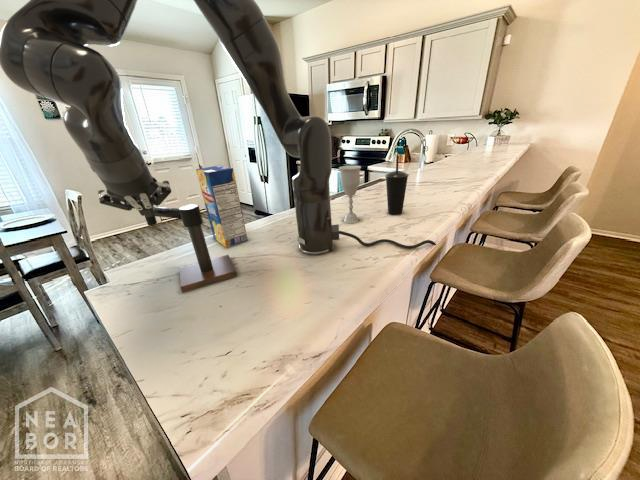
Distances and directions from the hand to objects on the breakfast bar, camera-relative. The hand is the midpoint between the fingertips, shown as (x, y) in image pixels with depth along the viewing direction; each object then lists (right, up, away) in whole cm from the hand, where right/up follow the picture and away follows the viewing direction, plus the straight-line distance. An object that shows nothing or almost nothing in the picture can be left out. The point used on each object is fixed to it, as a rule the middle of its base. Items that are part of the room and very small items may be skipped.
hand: (148, 213), depth 60 cm
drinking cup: (+66, +3, +34) cm, 75 cm away
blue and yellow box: (+11, -6, +23) cm, 26 cm away
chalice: (+50, 0, +31) cm, 59 cm away
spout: (+5, -3, +1) cm, 6 cm away
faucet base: (+12, -15, +4) cm, 19 cm away
